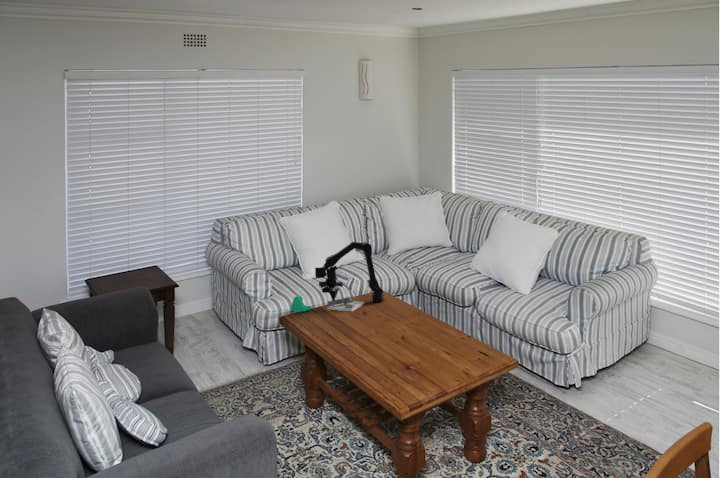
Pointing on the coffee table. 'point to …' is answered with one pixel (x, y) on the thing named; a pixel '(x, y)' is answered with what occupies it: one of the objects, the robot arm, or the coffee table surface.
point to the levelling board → (356, 305)
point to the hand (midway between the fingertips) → (333, 300)
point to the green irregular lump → (299, 305)
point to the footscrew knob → (340, 301)
